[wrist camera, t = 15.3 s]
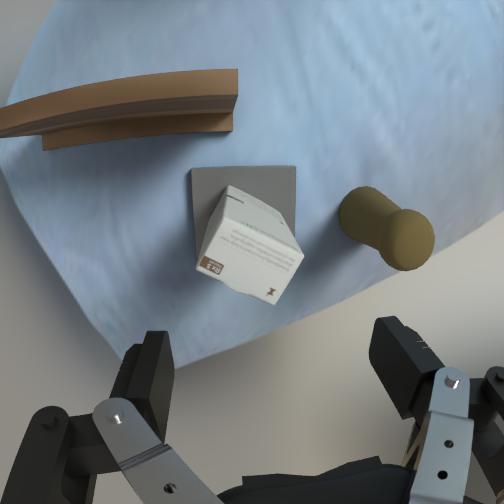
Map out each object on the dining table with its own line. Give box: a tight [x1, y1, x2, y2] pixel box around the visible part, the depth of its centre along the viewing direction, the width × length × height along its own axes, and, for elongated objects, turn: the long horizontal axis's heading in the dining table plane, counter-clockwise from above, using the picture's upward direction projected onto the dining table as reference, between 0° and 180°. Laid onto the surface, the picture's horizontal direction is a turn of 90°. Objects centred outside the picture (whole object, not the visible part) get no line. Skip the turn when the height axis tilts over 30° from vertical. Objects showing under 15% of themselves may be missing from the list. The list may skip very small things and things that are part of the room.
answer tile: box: [191, 166, 296, 262], centre depth 32 cm, size 10×10×1 cm
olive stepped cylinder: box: [339, 186, 435, 271], centre depth 28 cm, size 6×6×11 cm
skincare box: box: [196, 185, 304, 305], centre depth 26 cm, size 6×4×12 cm
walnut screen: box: [0, 69, 238, 151], centre depth 22 cm, size 5×20×14 cm, turn 91°
